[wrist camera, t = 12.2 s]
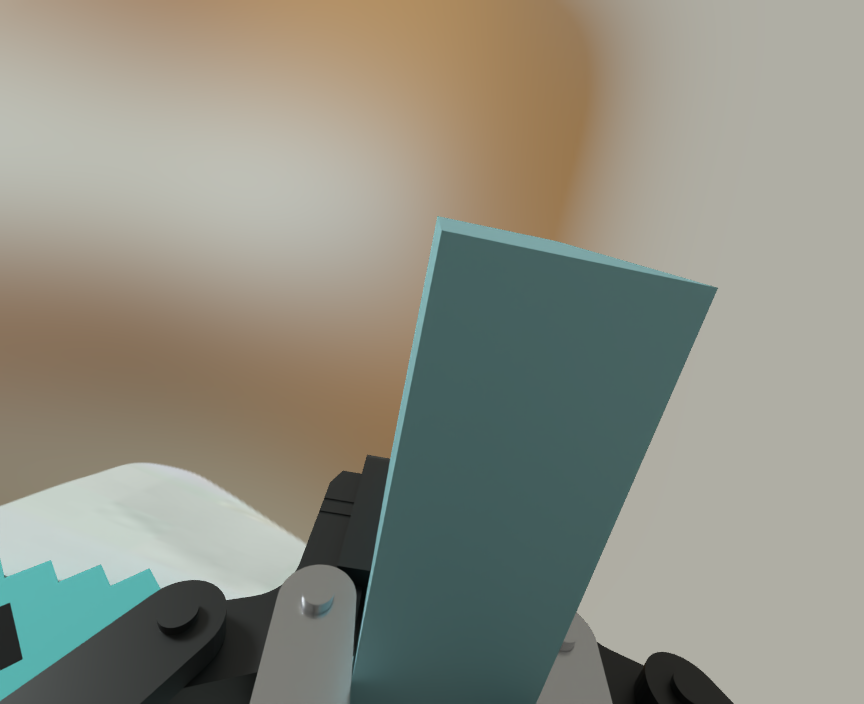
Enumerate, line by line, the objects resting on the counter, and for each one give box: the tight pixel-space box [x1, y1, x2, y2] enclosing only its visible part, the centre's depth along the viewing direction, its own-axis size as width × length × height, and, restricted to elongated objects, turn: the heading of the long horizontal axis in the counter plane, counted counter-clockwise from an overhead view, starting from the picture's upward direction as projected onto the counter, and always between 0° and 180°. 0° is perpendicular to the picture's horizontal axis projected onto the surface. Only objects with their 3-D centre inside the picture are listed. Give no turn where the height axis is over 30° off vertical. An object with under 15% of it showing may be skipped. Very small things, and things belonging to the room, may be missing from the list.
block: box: [350, 216, 718, 704], centre depth 9 cm, size 5×2×18 cm, turn 0°
